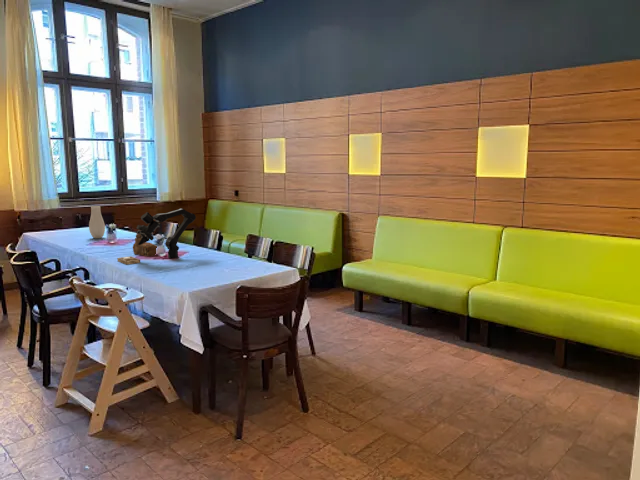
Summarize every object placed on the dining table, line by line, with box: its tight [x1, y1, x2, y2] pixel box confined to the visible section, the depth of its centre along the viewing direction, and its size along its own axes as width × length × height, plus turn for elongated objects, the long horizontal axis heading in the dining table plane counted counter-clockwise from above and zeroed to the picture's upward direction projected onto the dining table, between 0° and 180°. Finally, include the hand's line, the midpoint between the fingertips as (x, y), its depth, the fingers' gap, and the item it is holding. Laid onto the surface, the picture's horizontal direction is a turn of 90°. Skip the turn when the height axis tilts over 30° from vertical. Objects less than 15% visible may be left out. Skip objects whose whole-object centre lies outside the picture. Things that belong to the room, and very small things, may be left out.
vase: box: [88, 205, 106, 239], centre depth 457 cm, size 14×14×30 cm
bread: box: [132, 241, 158, 257], centre depth 381 cm, size 19×11×10 cm, turn 55°
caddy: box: [117, 255, 141, 266], centre depth 351 cm, size 10×16×3 cm, turn 43°
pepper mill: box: [134, 233, 143, 255], centre depth 351 cm, size 5×5×14 cm
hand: (137, 244), depth 350 cm, fingers closed on pepper mill, 5 cm apart
